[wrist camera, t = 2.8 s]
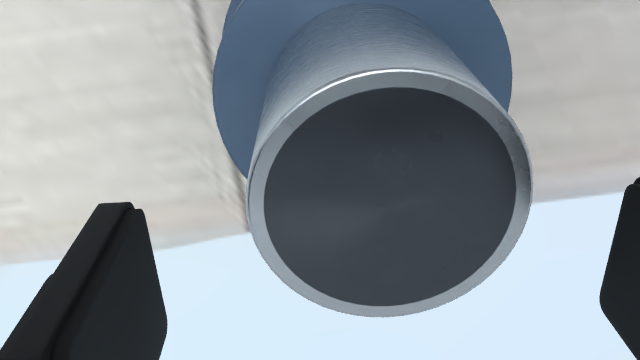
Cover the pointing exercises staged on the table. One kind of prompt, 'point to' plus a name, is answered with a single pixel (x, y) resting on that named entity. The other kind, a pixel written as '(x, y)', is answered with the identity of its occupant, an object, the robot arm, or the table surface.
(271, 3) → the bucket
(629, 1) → the table surface
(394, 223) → the silver cup
